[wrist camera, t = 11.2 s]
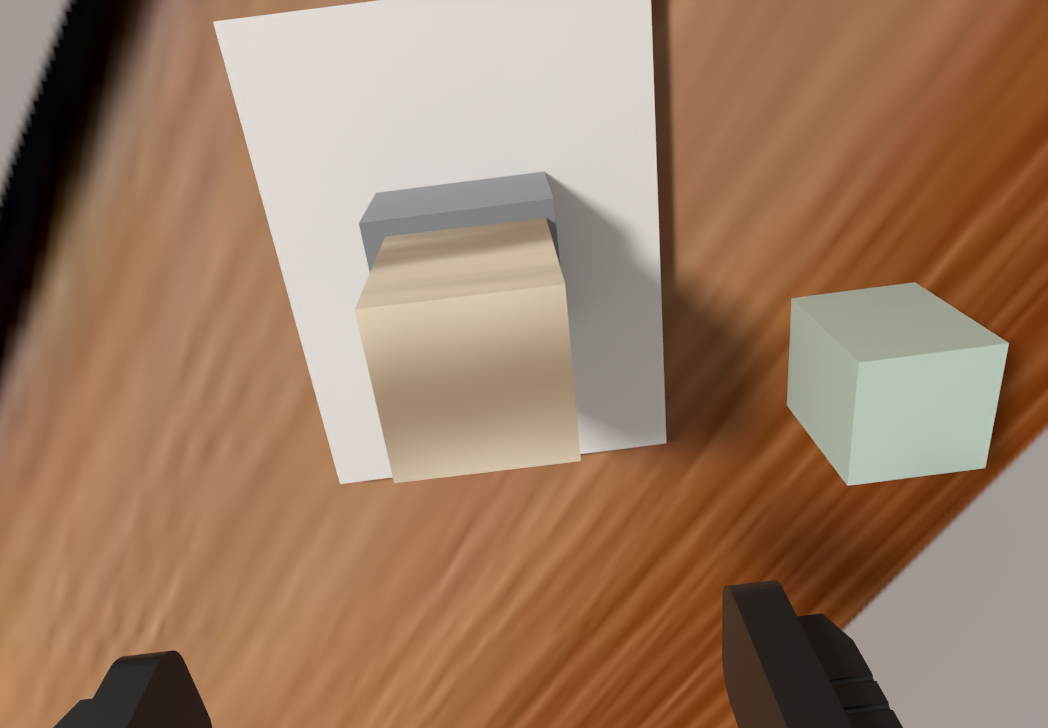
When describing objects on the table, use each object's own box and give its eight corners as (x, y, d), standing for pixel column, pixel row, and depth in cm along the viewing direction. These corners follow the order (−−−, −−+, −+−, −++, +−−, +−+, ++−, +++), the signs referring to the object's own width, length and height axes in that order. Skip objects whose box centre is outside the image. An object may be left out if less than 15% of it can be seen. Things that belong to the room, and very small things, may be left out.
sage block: (791, 297, 30) (858, 362, 25) (914, 281, 30) (1008, 343, 24) (786, 404, 32) (847, 485, 27) (900, 390, 32) (985, 468, 27)
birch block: (385, 237, 23) (354, 309, 17) (546, 217, 23) (565, 284, 17) (413, 379, 25) (394, 483, 20) (560, 361, 25) (580, 460, 20)
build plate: (223, 21, 24) (164, 25, 20) (643, -34, 24) (679, -41, 20) (344, 470, 32) (321, 545, 28) (661, 431, 32) (690, 500, 28)
